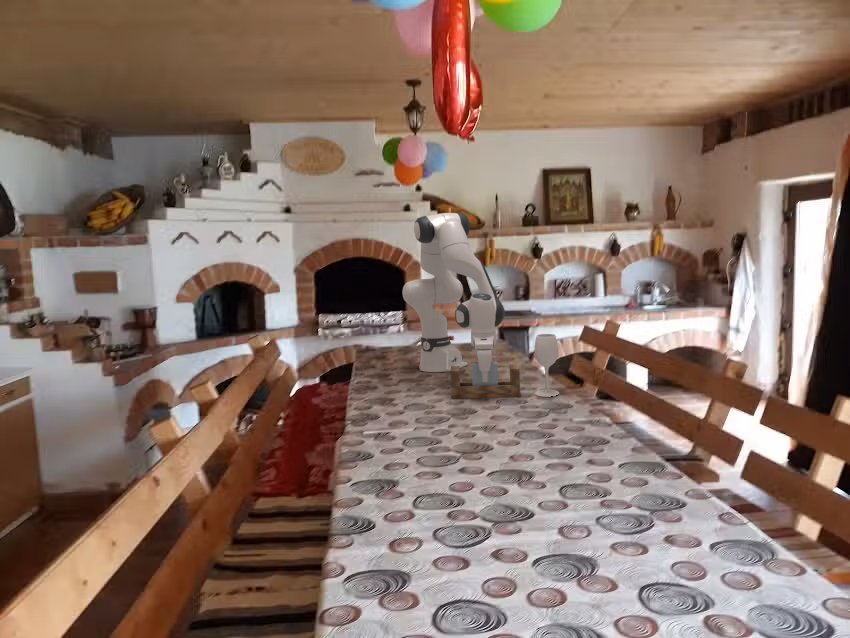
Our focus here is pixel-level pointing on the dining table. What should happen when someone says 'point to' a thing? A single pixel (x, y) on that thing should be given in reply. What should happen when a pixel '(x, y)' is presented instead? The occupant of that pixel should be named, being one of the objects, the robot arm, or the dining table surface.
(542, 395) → the wineglass
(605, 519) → the dining table surface
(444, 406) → the dining table surface
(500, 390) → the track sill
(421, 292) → the robot arm
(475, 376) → the door panel
